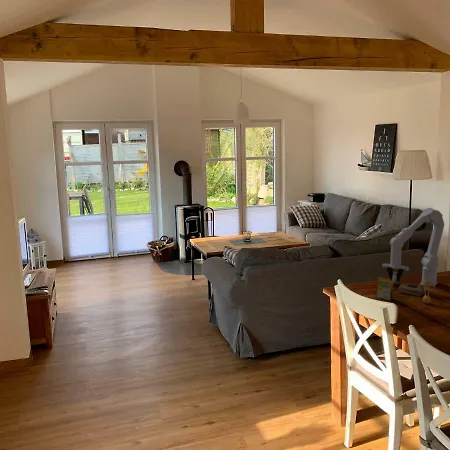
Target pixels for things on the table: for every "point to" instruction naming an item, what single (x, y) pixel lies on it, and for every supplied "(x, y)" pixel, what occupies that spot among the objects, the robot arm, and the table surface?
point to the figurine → (426, 298)
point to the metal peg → (395, 278)
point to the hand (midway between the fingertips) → (394, 280)
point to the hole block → (411, 289)
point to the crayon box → (384, 288)
